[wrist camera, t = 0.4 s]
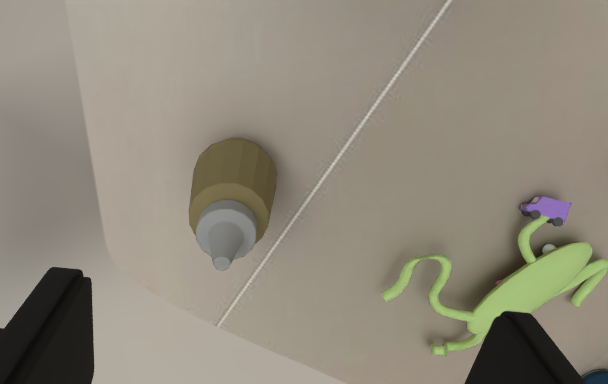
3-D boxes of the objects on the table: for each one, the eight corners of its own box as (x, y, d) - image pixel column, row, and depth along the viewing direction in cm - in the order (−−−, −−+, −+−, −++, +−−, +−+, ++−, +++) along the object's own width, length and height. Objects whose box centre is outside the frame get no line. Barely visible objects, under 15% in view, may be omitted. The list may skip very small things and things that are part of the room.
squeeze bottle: (190, 133, 45) (146, 222, 29) (269, 121, 45) (270, 203, 29) (208, 203, 48) (178, 317, 32) (281, 192, 49) (288, 300, 32)
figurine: (364, 251, 53) (374, 280, 48) (587, 165, 50) (623, 187, 45) (408, 354, 61) (421, 388, 56) (603, 285, 58) (635, 314, 53)
